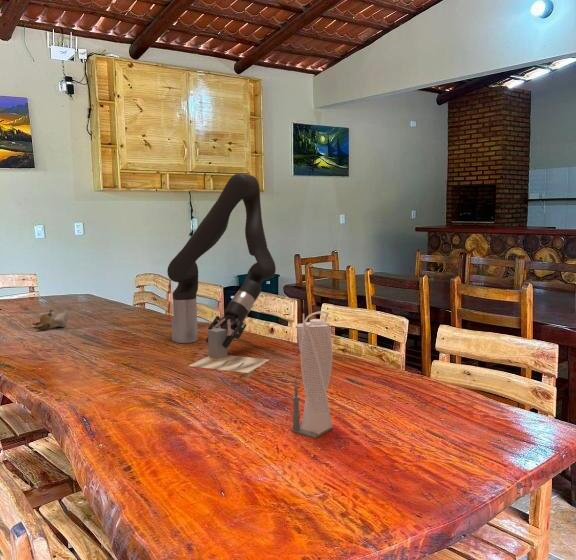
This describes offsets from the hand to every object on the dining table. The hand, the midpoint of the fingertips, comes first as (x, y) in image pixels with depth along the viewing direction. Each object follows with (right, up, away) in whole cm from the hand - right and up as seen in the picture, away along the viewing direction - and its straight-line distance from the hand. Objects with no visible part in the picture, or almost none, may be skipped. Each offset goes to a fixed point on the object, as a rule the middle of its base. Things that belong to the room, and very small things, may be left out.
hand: (215, 344), depth 183 cm
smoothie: (+31, -4, +16) cm, 35 cm away
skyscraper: (+31, -14, -55) cm, 65 cm away
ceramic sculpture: (-82, 0, +60) cm, 101 cm away
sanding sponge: (+1, -5, +1) cm, 5 cm away
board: (+5, -7, -3) cm, 9 cm away
